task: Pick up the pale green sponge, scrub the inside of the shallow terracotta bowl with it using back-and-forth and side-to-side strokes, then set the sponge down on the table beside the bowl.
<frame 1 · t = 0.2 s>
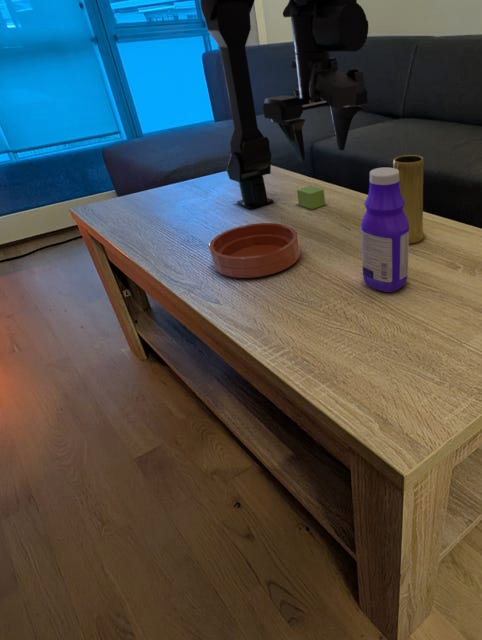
hand: (322, 155, 81), 15 cm above the table, tool pointing down, fingers open, 9 cm apart
bowl: (257, 260, 82), on the table
sponge: (312, 204, 104), on the table
bottle: (385, 285, 72), on the table
vase: (407, 238, 86), on the table
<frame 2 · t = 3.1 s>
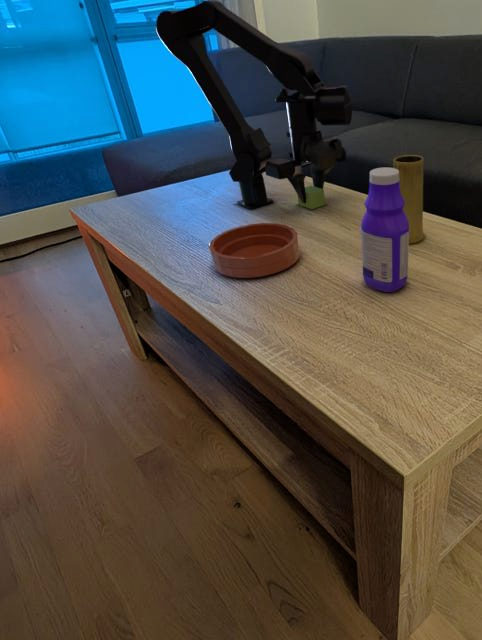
hand: (311, 200, 103), 1 cm above the table, tool pointing down, fingers closed on sponge, 4 cm apart
sponge: (312, 204, 104), on the table, touching gripper
everything else where it was.
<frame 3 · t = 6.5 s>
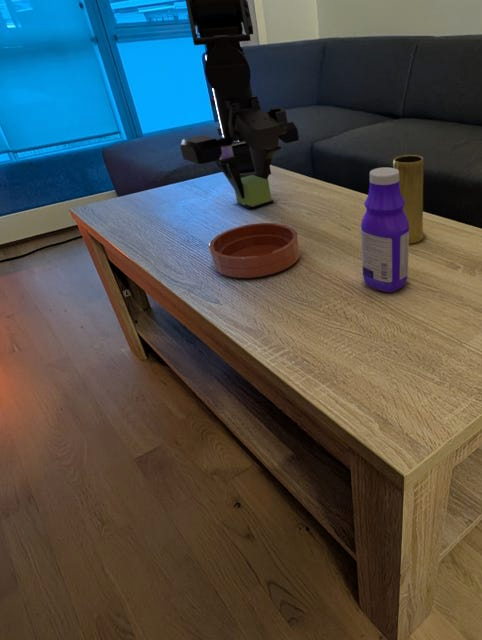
hand: (252, 194, 77), 11 cm above the table, tool pointing down, fingers closed on sponge, 4 cm apart
sponge: (254, 200, 78), point 10 cm above the table, touching gripper
everything else where it was.
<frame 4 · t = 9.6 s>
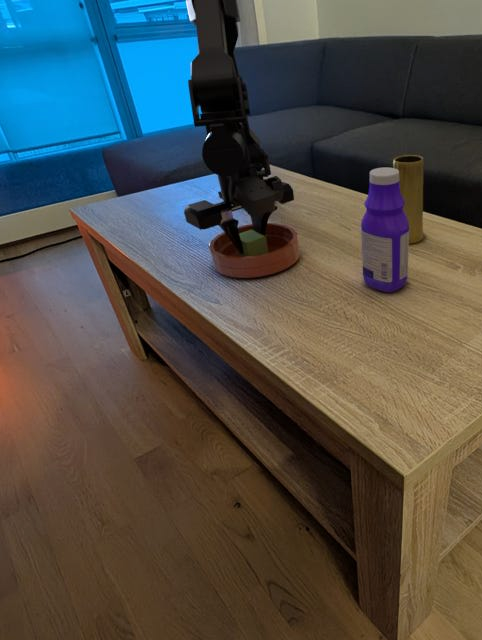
hand: (251, 249, 82), 1 cm above the table, tool pointing down, fingers closed on sponge, 4 cm apart
sponge: (252, 254, 83), point 1 cm above the table, touching gripper
everything else where it was.
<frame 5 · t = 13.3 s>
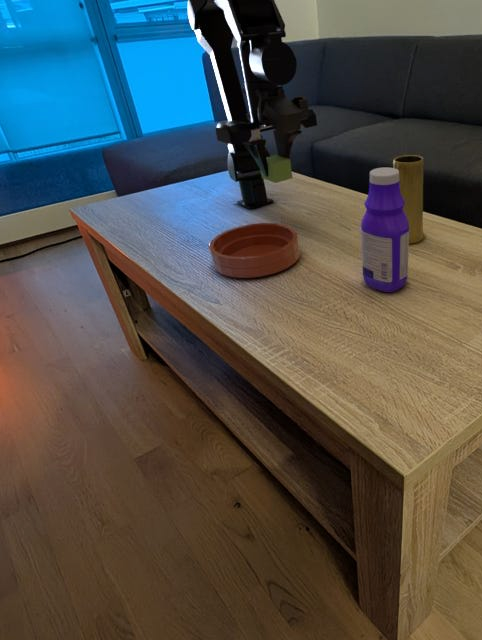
hand: (275, 173, 87), 11 cm above the table, tool pointing down, fingers closed on sponge, 4 cm apart
sponge: (277, 178, 88), point 10 cm above the table, touching gripper
everything else where it was.
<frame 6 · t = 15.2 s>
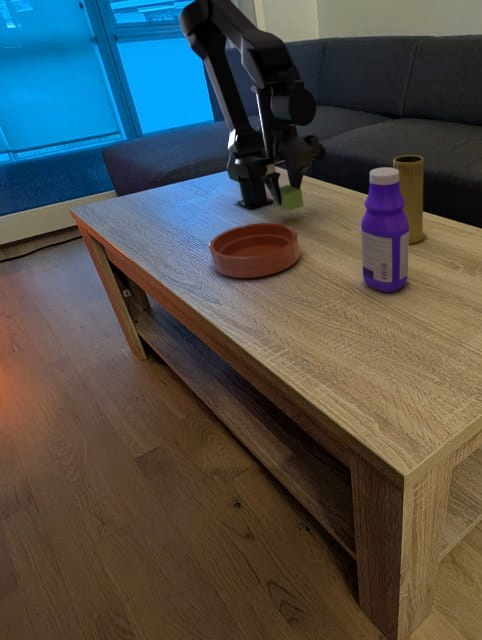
hand: (287, 202, 95), 4 cm above the table, tool pointing down, fingers closed on sponge, 4 cm apart
sponge: (289, 206, 95), point 3 cm above the table, touching gripper
everything else where it was.
when the fingers open (1 cm above the table, at t = 16.4 s): sponge stays where it is, on the table.
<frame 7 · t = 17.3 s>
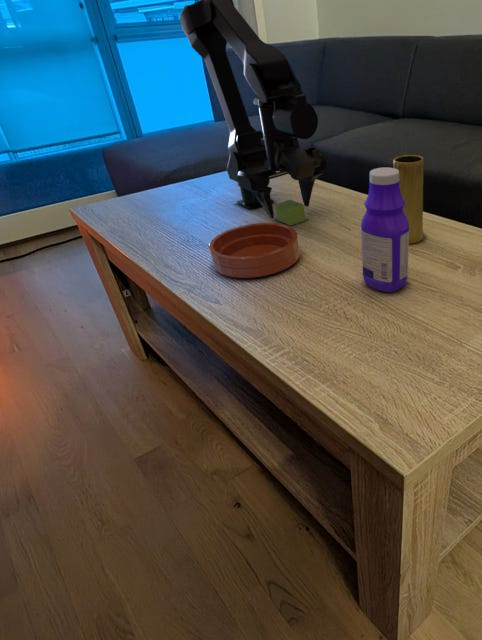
hand: (289, 212, 96), 2 cm above the table, tool pointing down, fingers open, 9 cm apart
sponge: (291, 220, 97), on the table
everything else where it was.
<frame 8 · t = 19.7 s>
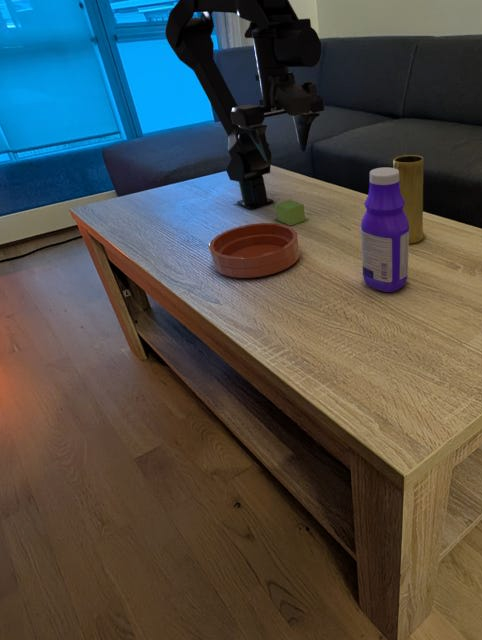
hand: (285, 156, 93), 12 cm above the table, tool pointing down, fingers open, 9 cm apart
nothing on the table moved.
at the end: sponge inside the target area (0.2 cm from its centre), on the table; sponge touching table; the gripper is holding nothing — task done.
